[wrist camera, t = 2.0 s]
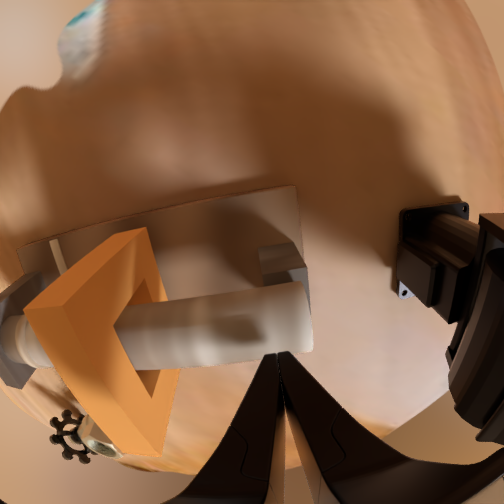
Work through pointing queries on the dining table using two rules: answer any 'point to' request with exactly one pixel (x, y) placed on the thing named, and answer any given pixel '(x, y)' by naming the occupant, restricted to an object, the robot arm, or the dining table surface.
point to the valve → (83, 438)
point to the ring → (107, 341)
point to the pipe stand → (185, 285)
